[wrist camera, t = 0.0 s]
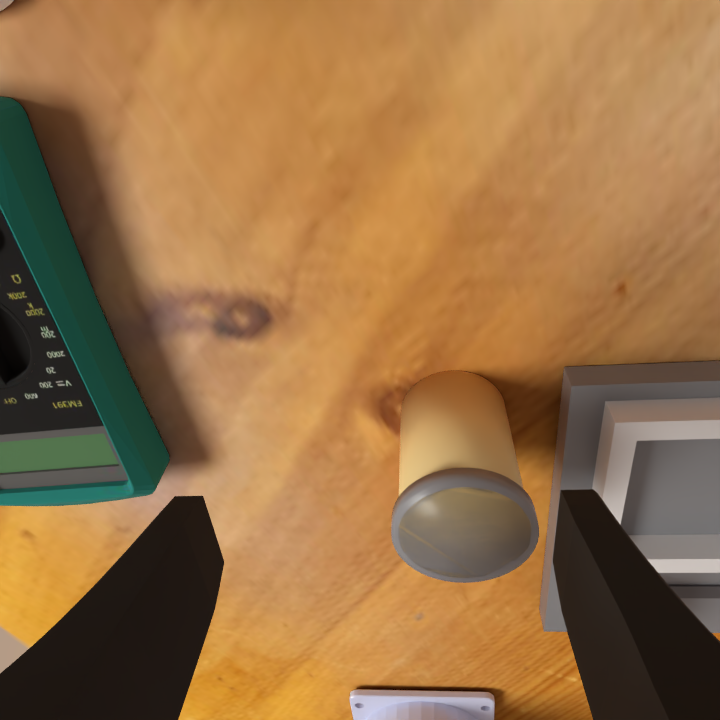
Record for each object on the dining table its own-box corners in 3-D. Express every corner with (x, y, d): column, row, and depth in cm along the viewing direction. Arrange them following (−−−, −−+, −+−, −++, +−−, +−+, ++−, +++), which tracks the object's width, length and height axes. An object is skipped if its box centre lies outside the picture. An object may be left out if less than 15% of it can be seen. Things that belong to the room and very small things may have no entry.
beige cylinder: (508, 455, 24) (534, 582, 19) (399, 458, 25) (395, 582, 20) (513, 363, 22) (544, 480, 17) (392, 368, 22) (386, 483, 17)
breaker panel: (759, 609, 28) (786, 658, 26) (539, 608, 29) (548, 655, 27) (865, 355, 21) (914, 396, 19) (564, 366, 22) (579, 407, 20)
